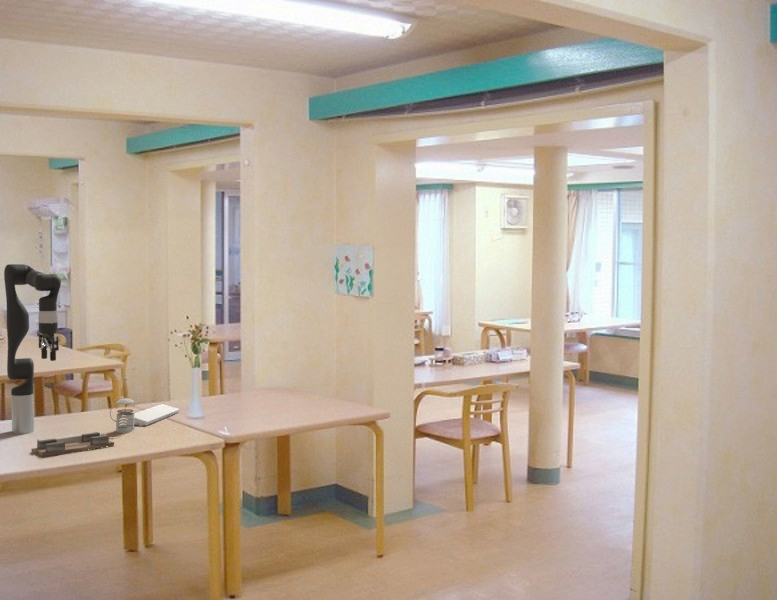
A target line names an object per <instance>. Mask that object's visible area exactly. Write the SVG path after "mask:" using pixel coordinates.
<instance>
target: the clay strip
mask: <svg viewBox="0 0 777 600" xmlns="http://www.w3.org/2000/svg"><path fill="white" fill-rule="evenodd" d="M82 434H83V433H79V432H76V433H70V434H63V435H56V436H49V437H41V438H37V439H36V442H37V441H40V440H47V439H57V442H65V443H72V442H78V441H82Z"/></svg>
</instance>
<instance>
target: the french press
mask: <svg viewBox="0 0 777 600" xmlns="http://www.w3.org/2000/svg"><path fill="white" fill-rule="evenodd" d="M122 380H123V381H127V380H128V377H125V376H123V377H122ZM115 403H116V404H114V405H113V406H111V408H110V410H109V417H110V419H111V421H113V422H115V425H116V426H115V428H116V430H115V432H116V433H121V434H122V433H123V434H124V433H133V432H135V431H136V429H135V424H134V414H135V413H134V410H133V409H129V408H128V409H127V408H126V407H124V409H118V408H117V407H118V406H117V405H132V404H134V403H135V400H133V399H131V398H127V397H123V398H120V399H118V400H117V401H116V402H115ZM114 408H116V409H118V410H117V411H116V412H117V414H116V420H115V419H114V418H113V417H112V416H111V415H112V413H111V412H112V410H113V409H114ZM128 419H129V420H133V421H128ZM127 422H129V423H132V424H129V423H127Z"/></svg>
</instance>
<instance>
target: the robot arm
mask: <svg viewBox="0 0 777 600" xmlns="http://www.w3.org/2000/svg"><path fill="white" fill-rule="evenodd" d="M3 276H4V277H3V279H4V288H5V297H6V298H5V299H6V334H7V359H6V363H7V364H6V373H7V377H8V379H9V380H11V381H13V380H24V382H22V383H21V384H19V385H17V386H14V387H12V388H11V389H10V390H11V391H10V396H11V400H10V401H11V433H12V434H14V435H25V434H31V433H34V432H35V407H34V406H35V404H34V403H35V400H34V398H35V397H34V373H35V372H34V371H35V370H34V369H35V364H34V360H33V359H32V358H30V357H28V358H27V357H26V358H25V357H24V358H16V354H17V351H18V349H19V347H20V345H21V343H22V342H23V340H24V339H25V337H26V336H27V334H28V333H29V329H30V315H29V312H28V310H27V308H26V307H25V306H24V304H23V302H22V301H21V300H20V298H19V296H18V295H17V290H16V286H25V285H29V286H30V287H32V288H34V289H35V290H36V291H39V292H49V293H48V294H47V295H46V296H45V295H44V296H40V297H39V299H38V332H39V334H38V349H40V350H41V351H40V352H41V359H43V360H44V359H48V350H49V360H50V361H51V362H54V361H56V360H57V351H59V350H60V349H59V348H60V346H59V336H58V335H55V333H58V331H59V329H58V328H59V327H58V325H59V324H58V323H59V322H58V321H59V320H58V305H57V303H58V297H59V293H60V289H61V286H62V280H61V278H60V276H59V275H58V274H53V273H52V274H47V273H44V272H41V271H37V270H35V269H34V268H33V267H31V266H30V265H28V264H21V263H20V264H18V263H16V264H15V263H12V264H11V263H10V264H6V265H5V267H4V271H3Z"/></svg>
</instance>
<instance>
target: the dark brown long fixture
mask: <svg viewBox="0 0 777 600" xmlns="http://www.w3.org/2000/svg"><path fill="white" fill-rule="evenodd" d="M81 434H82V441H78V442H72V443H65V442H57V439H47V440H40V441H37V440H36V447H34V448H31V453H32V452H33V454H34V455H37V454H38V456H41V457H42V456H43V457H42V458H47V457H54V455H55V456H61V455H65V454H66V453H68V454H72V453H71V452H74V453H78V452H77V451H80V452H84V451H83V450H86V451H89V450H88V449H92V450H95V449H94V448H98V449H101V448H100V447H105V448H107V447H106V446H111V447H114V446H115V442H113V441H111V440H109V439H110V437H109V435H107V434H104V435H101V433H100V432H98V431H96V432H89V433H81ZM113 445H114V446H113ZM60 454H61V455H60ZM66 455H67V454H66Z"/></svg>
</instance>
